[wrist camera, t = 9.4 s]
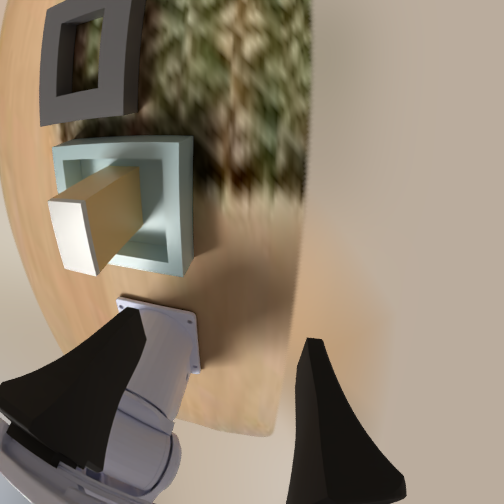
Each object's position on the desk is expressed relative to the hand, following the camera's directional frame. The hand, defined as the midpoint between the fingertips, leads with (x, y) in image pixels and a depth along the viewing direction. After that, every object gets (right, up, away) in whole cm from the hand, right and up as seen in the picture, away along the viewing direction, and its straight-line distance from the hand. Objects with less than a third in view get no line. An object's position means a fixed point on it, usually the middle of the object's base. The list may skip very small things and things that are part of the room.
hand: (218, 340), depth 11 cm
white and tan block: (-8, +8, +7) cm, 13 cm away
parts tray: (-8, +8, +7) cm, 13 cm away
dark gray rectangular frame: (-10, +17, +2) cm, 20 cm away
